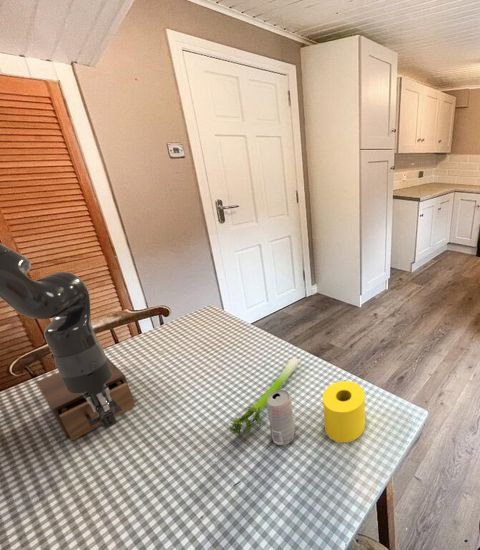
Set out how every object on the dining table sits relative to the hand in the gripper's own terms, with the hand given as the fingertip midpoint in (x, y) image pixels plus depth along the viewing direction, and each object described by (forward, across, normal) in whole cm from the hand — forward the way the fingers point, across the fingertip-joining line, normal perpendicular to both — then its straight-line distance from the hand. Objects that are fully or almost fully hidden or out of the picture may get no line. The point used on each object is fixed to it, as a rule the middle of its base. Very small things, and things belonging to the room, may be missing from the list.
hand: (110, 424), depth 71 cm
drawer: (+3, -11, 0) cm, 12 cm away
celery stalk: (+4, +20, +30) cm, 36 cm away
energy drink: (+4, +33, +24) cm, 41 cm away
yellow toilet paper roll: (+4, +42, +35) cm, 55 cm away
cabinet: (+4, -17, 0) cm, 18 cm away
